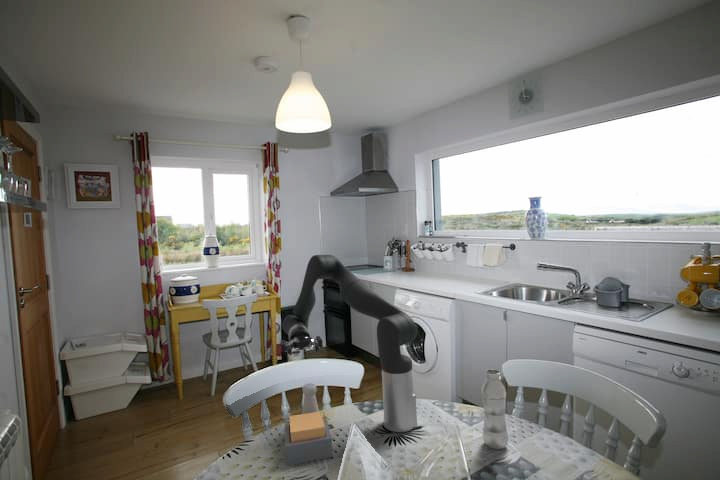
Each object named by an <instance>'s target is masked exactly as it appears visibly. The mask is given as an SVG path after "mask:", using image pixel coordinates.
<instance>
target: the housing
mask: <svg viewBox="0 0 720 480" xmlns="http://www.w3.org/2000/svg"><path fill="white" fill-rule="evenodd" d="M322 418H323V422H324V426H325V437H322V438H316V439H310V440H304V441H298V442H292V443H291V436H290V421H289V422H283V424H284V425H283V426H284V444H285V445H284V447H285V465H286V466H291V465H297V464H301V463H307V462H312V461H313V462H314V461H317V460H323V459H328V458H333V438H332V434H331V431H330V427H329V424H328V420H327V416H322Z"/></svg>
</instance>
